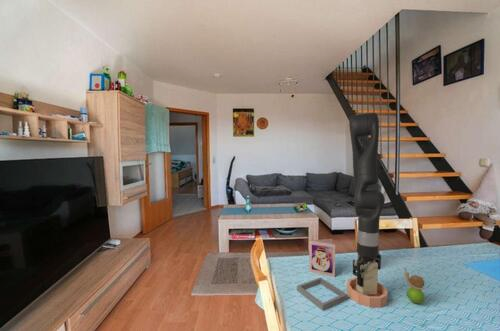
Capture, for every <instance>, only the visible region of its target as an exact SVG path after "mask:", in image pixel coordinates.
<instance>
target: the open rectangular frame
mask: <svg viewBox="0 0 500 331" xmlns="http://www.w3.org/2000/svg"><path fill="white" fill-rule="evenodd" d="M318 285H322V286H324V287H325V288H326V289H328V290H329V291H331V292H332V293H334V294H335V295H337V296H336V297H333V298H331V299H328V300H326V301H324V302H322V301H321V300H319V299H318V298H317V297H316V296H314V295H313V294H312V293H310V292H309V291H307V289H310V288H312V287H316V286H318ZM296 292H298V293H299V294H301V295H302V296H303V297H304V298H306V299H307V300H308V301H310V302H311V303H312V304H314V305H315V306H316V307H317V308H318V309H320V311H322V312H323V311H325V310H327V309H329V308H332V307H334V306H336V305H339V304H341V303H344V302H346V301H348V297H349V295H348V294H347V292H345V291H343V290H341V289H340V288H338V287H337V286H335V285H334V284H332V283H330V282H328V281H327V280H325V278H322V277H318V278H315V279H313V280H309V281H307V282H304V283H301V284H298V285H296Z"/></svg>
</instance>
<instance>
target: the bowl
mask: <svg viewBox="0 0 500 331" xmlns="http://www.w3.org/2000/svg"><path fill="white" fill-rule="evenodd" d="M346 294H348V297H349V298H350V300H352V301H353V302H355V303H357V304H359V305H362V306H364V307H368V308H383V307H384V306H387V305H388V289H387V288H386V286H384V284H382V283H380V282H378V281H377V294H372V295H363V294H361V293H360V292H359V291H358V290H357V276H355V277H352V278H350V279H348V280H347V282H346Z"/></svg>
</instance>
